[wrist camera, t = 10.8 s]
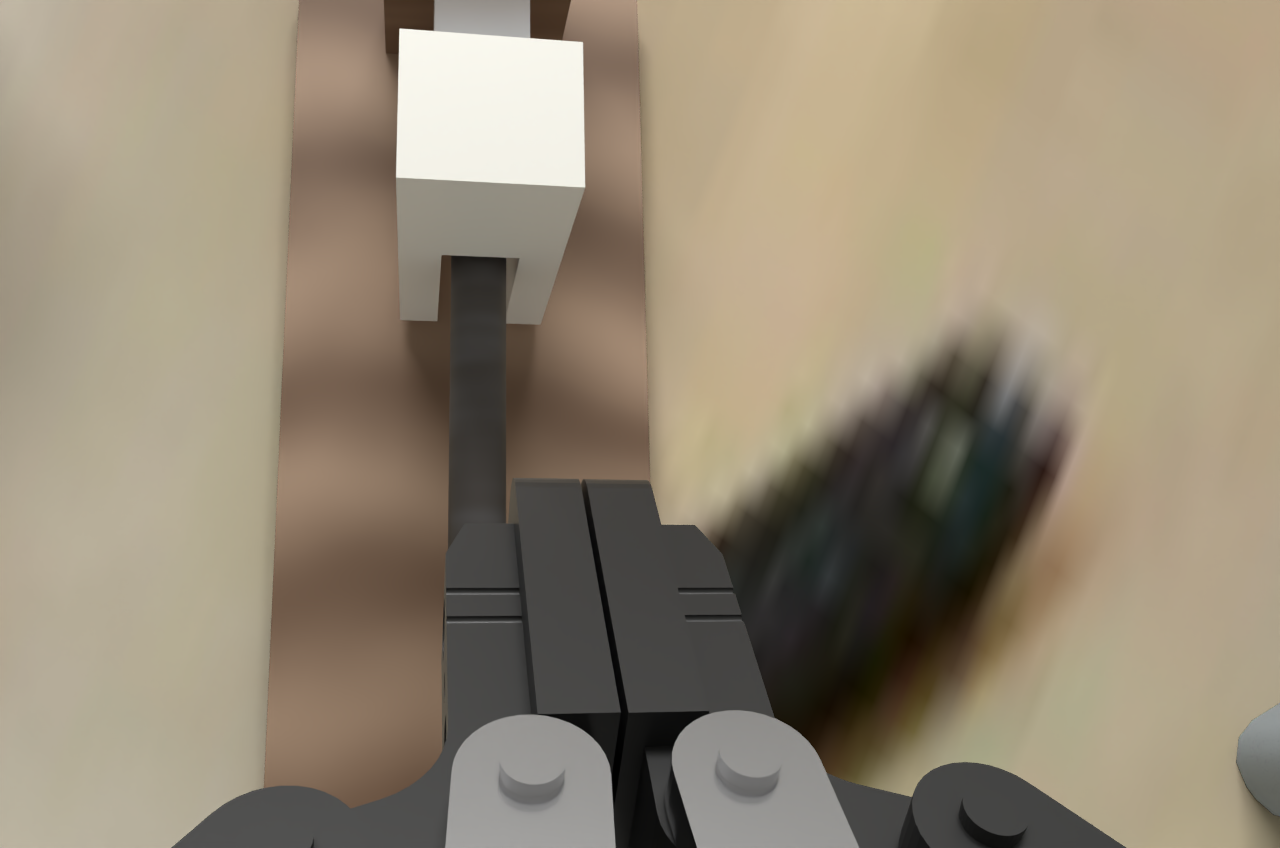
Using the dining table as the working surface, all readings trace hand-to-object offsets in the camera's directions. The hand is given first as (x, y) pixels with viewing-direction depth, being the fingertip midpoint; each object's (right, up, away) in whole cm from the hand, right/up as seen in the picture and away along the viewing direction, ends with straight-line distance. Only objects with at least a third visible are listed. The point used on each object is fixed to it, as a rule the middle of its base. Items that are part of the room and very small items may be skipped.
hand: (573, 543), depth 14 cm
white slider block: (-5, +7, +27) cm, 28 cm away
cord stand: (-5, +1, +28) cm, 29 cm away
